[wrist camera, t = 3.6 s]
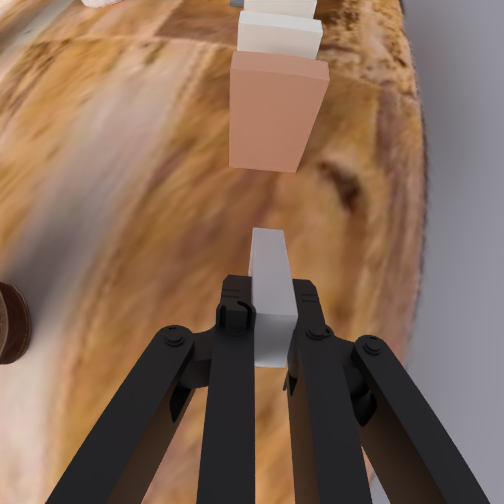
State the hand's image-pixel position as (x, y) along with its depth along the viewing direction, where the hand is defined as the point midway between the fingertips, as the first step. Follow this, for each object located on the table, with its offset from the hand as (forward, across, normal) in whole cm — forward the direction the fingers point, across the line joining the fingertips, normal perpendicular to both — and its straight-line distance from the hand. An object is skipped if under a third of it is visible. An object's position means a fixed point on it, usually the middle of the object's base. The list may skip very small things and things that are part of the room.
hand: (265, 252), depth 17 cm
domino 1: (+10, 0, +2) cm, 10 cm away
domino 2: (+13, 0, +6) cm, 14 cm away
